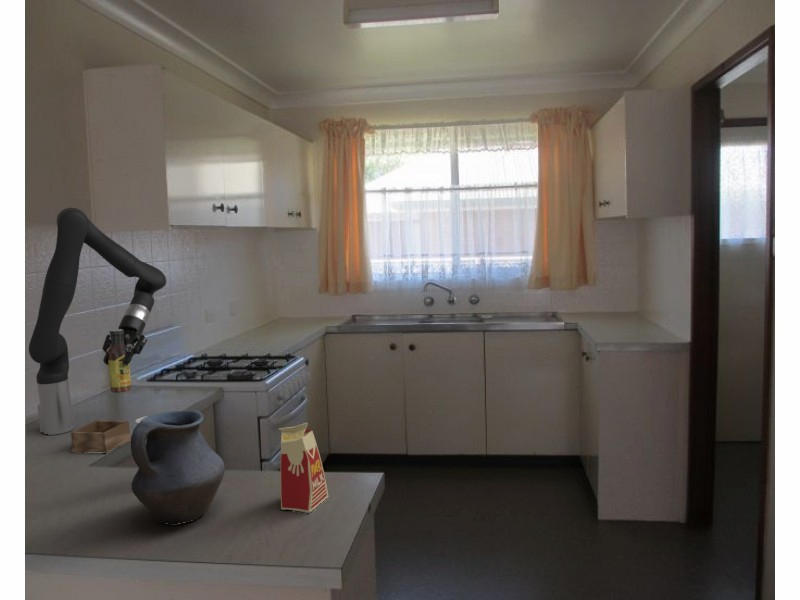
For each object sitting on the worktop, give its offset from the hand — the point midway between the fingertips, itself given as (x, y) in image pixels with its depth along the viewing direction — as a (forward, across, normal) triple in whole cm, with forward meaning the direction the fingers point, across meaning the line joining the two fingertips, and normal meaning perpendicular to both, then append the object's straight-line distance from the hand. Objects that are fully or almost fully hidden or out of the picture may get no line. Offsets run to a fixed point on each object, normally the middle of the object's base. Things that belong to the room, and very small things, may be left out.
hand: (115, 363), depth 208 cm
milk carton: (+46, +77, -14) cm, 91 cm away
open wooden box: (+24, 0, +10) cm, 26 cm away
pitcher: (+53, +51, -20) cm, 76 cm away
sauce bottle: (+6, 0, +8) cm, 10 cm away
